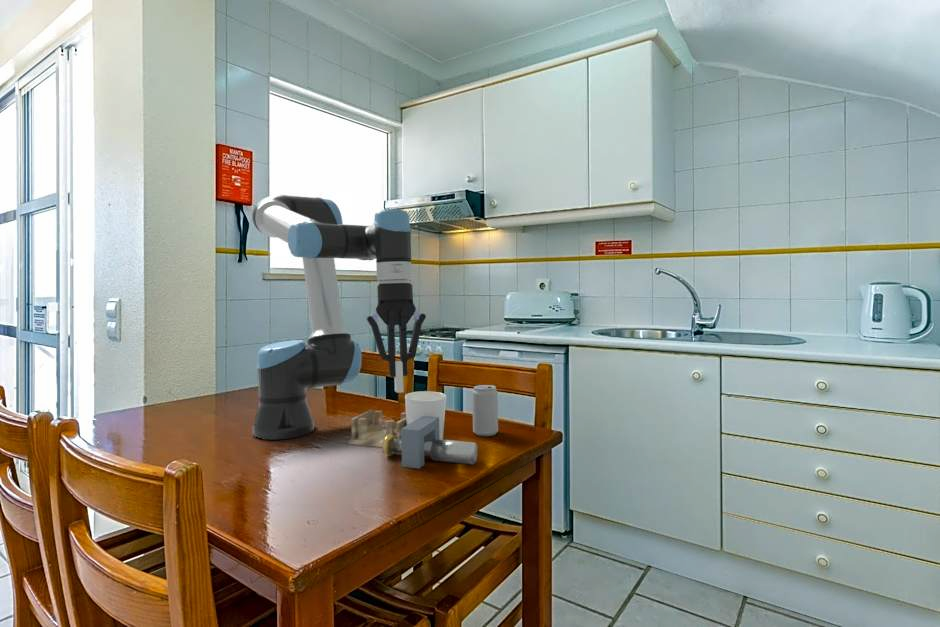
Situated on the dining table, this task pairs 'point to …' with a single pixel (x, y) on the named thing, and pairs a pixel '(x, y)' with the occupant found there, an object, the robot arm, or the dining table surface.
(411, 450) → the grey arch block
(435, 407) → the white cup
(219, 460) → the dining table surface
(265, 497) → the dining table surface
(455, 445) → the axle
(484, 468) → the dining table surface
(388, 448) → the drift plunger
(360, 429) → the cradle
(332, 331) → the robot arm
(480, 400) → the beverage can
